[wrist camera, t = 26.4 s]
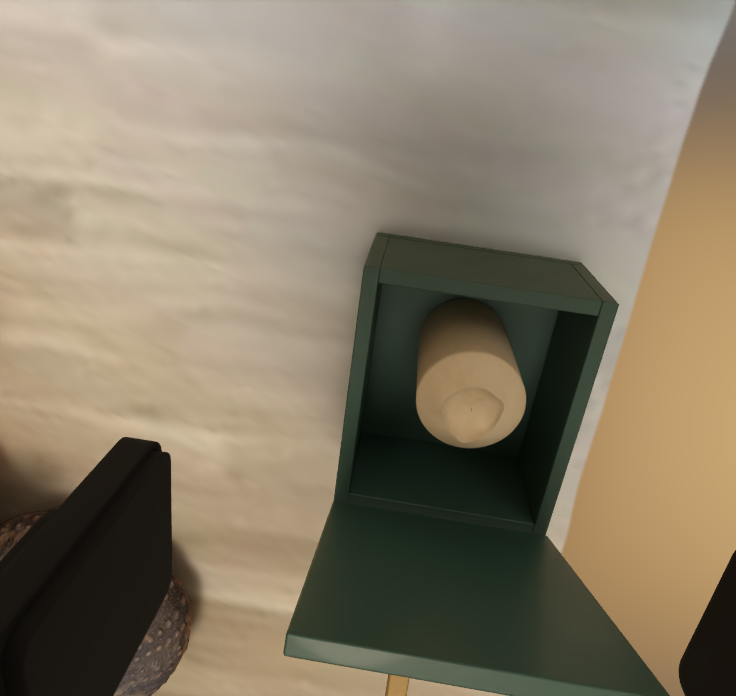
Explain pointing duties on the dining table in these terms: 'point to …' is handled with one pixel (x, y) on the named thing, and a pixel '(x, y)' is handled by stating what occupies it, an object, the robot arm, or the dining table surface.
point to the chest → (534, 360)
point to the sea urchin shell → (161, 638)
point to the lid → (458, 610)
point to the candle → (467, 376)
